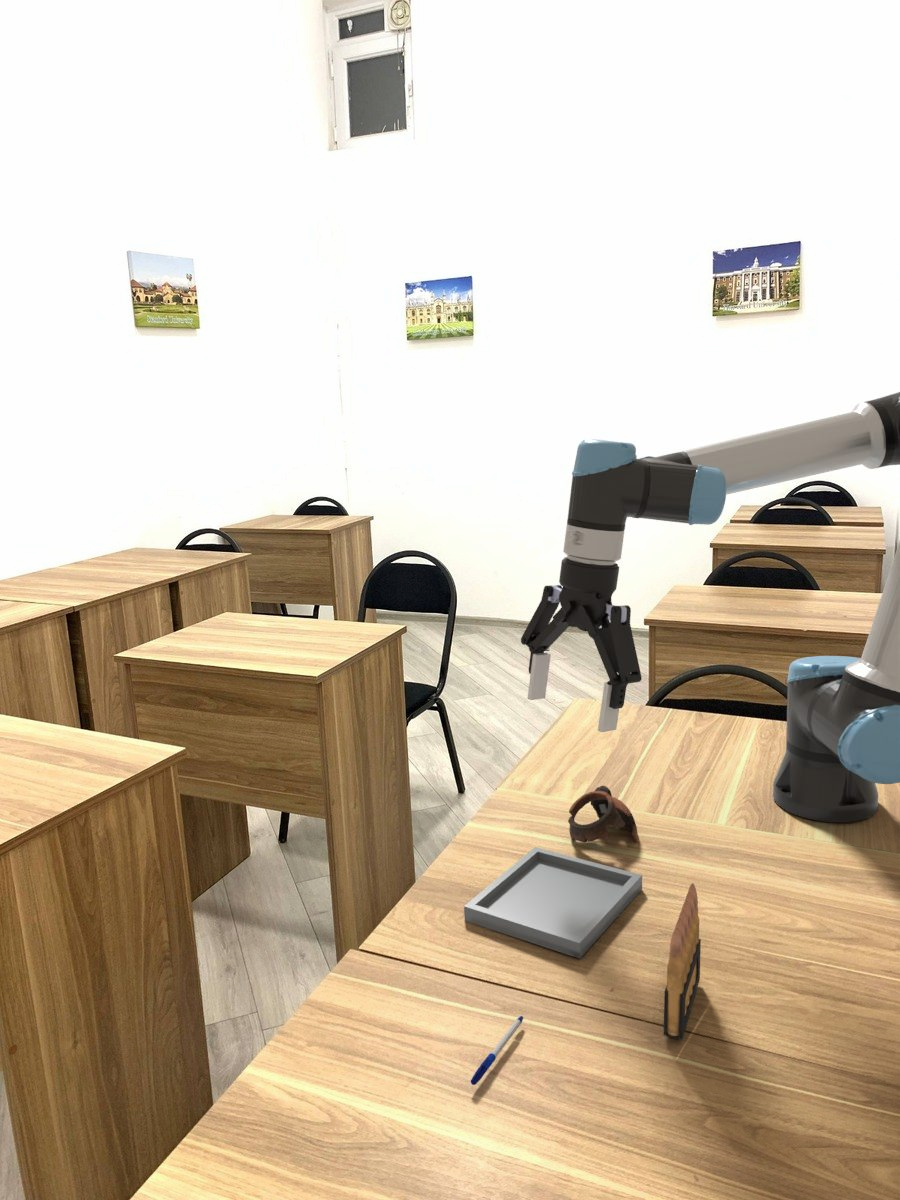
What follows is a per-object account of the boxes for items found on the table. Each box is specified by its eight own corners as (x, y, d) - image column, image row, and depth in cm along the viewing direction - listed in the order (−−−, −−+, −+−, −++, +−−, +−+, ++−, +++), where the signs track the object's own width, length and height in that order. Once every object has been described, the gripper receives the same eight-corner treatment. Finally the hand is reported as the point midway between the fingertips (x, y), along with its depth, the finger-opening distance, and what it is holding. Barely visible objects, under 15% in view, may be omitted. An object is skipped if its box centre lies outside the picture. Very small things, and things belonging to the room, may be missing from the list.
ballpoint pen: (477, 1088, 87) (477, 1079, 87) (469, 1085, 88) (469, 1076, 87) (524, 1021, 96) (524, 1013, 96) (516, 1018, 97) (516, 1010, 96)
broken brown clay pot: (648, 857, 130) (623, 818, 127) (587, 880, 133) (561, 841, 130) (637, 801, 141) (614, 763, 138) (581, 822, 143) (557, 785, 140)
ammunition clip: (681, 1041, 92) (684, 935, 90) (663, 1036, 93) (665, 931, 90) (699, 978, 102) (702, 880, 99) (682, 974, 103) (685, 877, 100)
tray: (642, 889, 121) (642, 875, 120) (579, 958, 106) (579, 943, 106) (535, 860, 130) (535, 846, 129) (464, 920, 115) (464, 906, 115)
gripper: (507, 543, 128) (490, 689, 132) (644, 579, 109) (619, 749, 113) (546, 542, 132) (529, 684, 136) (685, 577, 113) (659, 740, 117)
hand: (570, 713), depth 125 cm, fingers open, 13 cm apart
